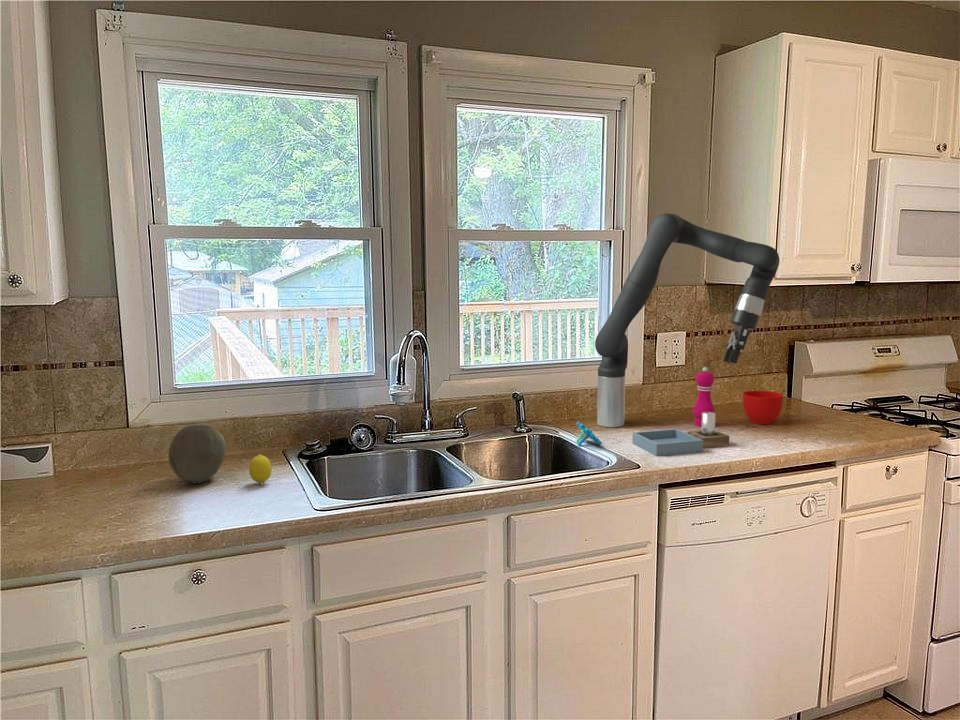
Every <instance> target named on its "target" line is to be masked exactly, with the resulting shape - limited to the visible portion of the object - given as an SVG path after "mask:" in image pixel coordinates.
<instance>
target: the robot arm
mask: <svg viewBox="0 0 960 720" xmlns="http://www.w3.org/2000/svg"><path fill="white" fill-rule="evenodd" d="M647 233H648V234H647V236H646V240H645V243H644V244H643V247H642V249H641V251H640V254H639V255H638V257H637V258H636V260H635V263H634V264H633V266H632V268H631V270H630V272H629V274H628V275H627V278H626V279H625V282H624V284H623V286H622V288H621V291H620V293H619V294H618V296H617V299H616V301H615V303H614V305H613V307H612V310H611V312H610V313H609V314H610V315H608V318H607V319H606V321H605V322H604V324H603V326H602V327H601V329H600V331H599V332H598V334H597V335H596V337H595V341H594V347H595V351H596V352H597V354H598V355H600V356H601V361H600V364H599V366H598V368H597V398H596V399H597V402H596V403H597V406H596V407H597V408H596V410H597V413H596V414H597V416H596V417H597V418H596V419H597V420H596V424H597V425H598V426H600V427H605V428H606V427H607V428H618V427H623V426H625V413H626V412H625V409H626V408H625V407H626V401H625V400H626V399H625V396H626V370H627V367H628V354H629V340H628V337H627V334H626V332H627V330H628V327H629V326H630V324H631V323H632V321H633V320H634V319H635V317H637V315H638V314H639V313H640V311H642V309H643V307H644V306H645V305H646V303H647V302H648V300H649V299H650V296H651V294H652V292H653V290H654V289H655V286H656V284H657V280H658V277H659V272H660V267H661V264H662V261H663V258H664V257H665V255H666V254H667V252H668V251H669V250H668V249H669V248H670V246H671V245H672V243H676V244H682V245H687V246H691V247H695V248H697V249H701V250H703V251H705V252H707V253H709V254H711V255H714V256H716V257H719V258H722V259H725V260H728V261H732V262H734V263H744V264H748V265H751V266H752V269H751V272H750V275H749V277H748V278H747V279H746V280H745V282H744V285H743V288H742V290H741V294H740V296H739V298H738V299H737V303H736V304H735V306H734V307H735V308H734V311H733V312H732V316H731V319H730V323H731V324H732V325H735V326H736V327H735V328H733V329H731V333H730V336H729V338H728V340H727V343H726V345H725V346H726V347H725V348H726V351H725V354H724V357H723V362H725V363H728V364H730V363H732V364H737V363H738V361H739V358H740V354H741V353H742V351H743V350H744V349H745V347H746V345H747V344H746V343H747V341H748V338H749V335H750V334H751V333H750V332H751V331H755V330H756V329H757V326H758V322H759V320H760V318H761V315H762V312H763V309H764V304H765V301H766V298H767V296H768V293H769V290H770V286H771V283H772V281H773V279H774V278H775V275H776V273H777V271H778V269H779V265H780V256H779V253H778V250H776V249H775V248H774V247H773V246H770V245H768V244H764V243H759V242H754V241H753V242H752V241H747V240H745V239H742V238H739V237H736V236H733V235H729V234H726V233H723V232H718V231H714V230H711V229H707V228H704V227H702V226H699V225H696V224H693V223H691V222H690V221H688V220H686V219H684V218H682V217H680V216H679V215H677V214H674V213H667V212H666V213H661V214H659V215H658V216H657V217H655V219H654V220H653V221H652V223H651V226H650V228H649V231H648V232H647Z"/></svg>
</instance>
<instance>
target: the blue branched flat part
mask: <svg viewBox="0 0 960 720" xmlns="http://www.w3.org/2000/svg"><path fill="white" fill-rule="evenodd" d="M575 424H576V426H578V427H579V429H580V434H579V435H580V436H579V437H577V439H575V442H576V443H577V445H578V446H579V447H580V446H581V445H582V444H583V443H584V442H585V441H586V440H588V439H591V440H593V442H594V443H596V444H598V445H599V446H601V445H602V444H603V443H602V440H600V438H598V437H596V434H594V432H593V431H592V430H591V429H589V428H588V427H587V426H585V425H584V424H582V423H581V422H580V421H577V422H576V423H575Z"/></svg>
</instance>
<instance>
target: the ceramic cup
mask: <svg viewBox="0 0 960 720" xmlns="http://www.w3.org/2000/svg"><path fill="white" fill-rule="evenodd" d="M783 403H784V395H783V394H782V393H781V392H776V391H770V390H748V391H743V393H742V405H743V409H744V413H745V415H746V417H747V418H748V419H749V421H751V423H753V424H756V425H763V424H764V425H766V426H767V425H771V424H772V423H774V421H775V420H776V419H777V418H778V417H779V415H780V413H781V411H782V409H783V408H782V407H783ZM764 425H763V426H764Z"/></svg>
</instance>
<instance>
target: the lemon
mask: <svg viewBox="0 0 960 720" xmlns="http://www.w3.org/2000/svg"><path fill="white" fill-rule="evenodd" d="M248 470H249V476H250V478H251V480H252V481H254V482H256V483H258V484H259V483H263V484H264V483H265V482H267V480H269V479H270V477H271V476H272V464H271V461H270V460H269V458H268V457H267V456H264V455H262V454H257V455H256V456H254V457H253V458H252V459H251V461H250V462H249V468H248Z"/></svg>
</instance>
